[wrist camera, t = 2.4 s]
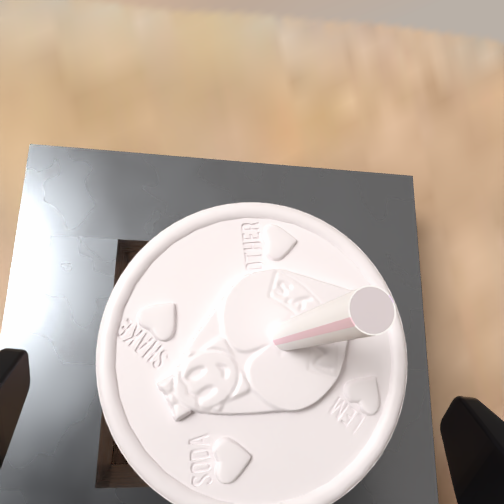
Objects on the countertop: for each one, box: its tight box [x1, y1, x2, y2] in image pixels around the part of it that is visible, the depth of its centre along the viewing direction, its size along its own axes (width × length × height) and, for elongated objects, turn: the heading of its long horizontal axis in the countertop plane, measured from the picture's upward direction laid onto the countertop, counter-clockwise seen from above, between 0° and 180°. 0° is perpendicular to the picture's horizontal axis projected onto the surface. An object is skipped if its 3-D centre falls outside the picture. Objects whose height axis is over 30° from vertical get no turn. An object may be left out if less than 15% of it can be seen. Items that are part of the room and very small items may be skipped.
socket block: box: [0, 144, 438, 504], centre depth 17 cm, size 14×14×4 cm
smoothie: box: [96, 202, 407, 504], centre depth 12 cm, size 6×6×14 cm
